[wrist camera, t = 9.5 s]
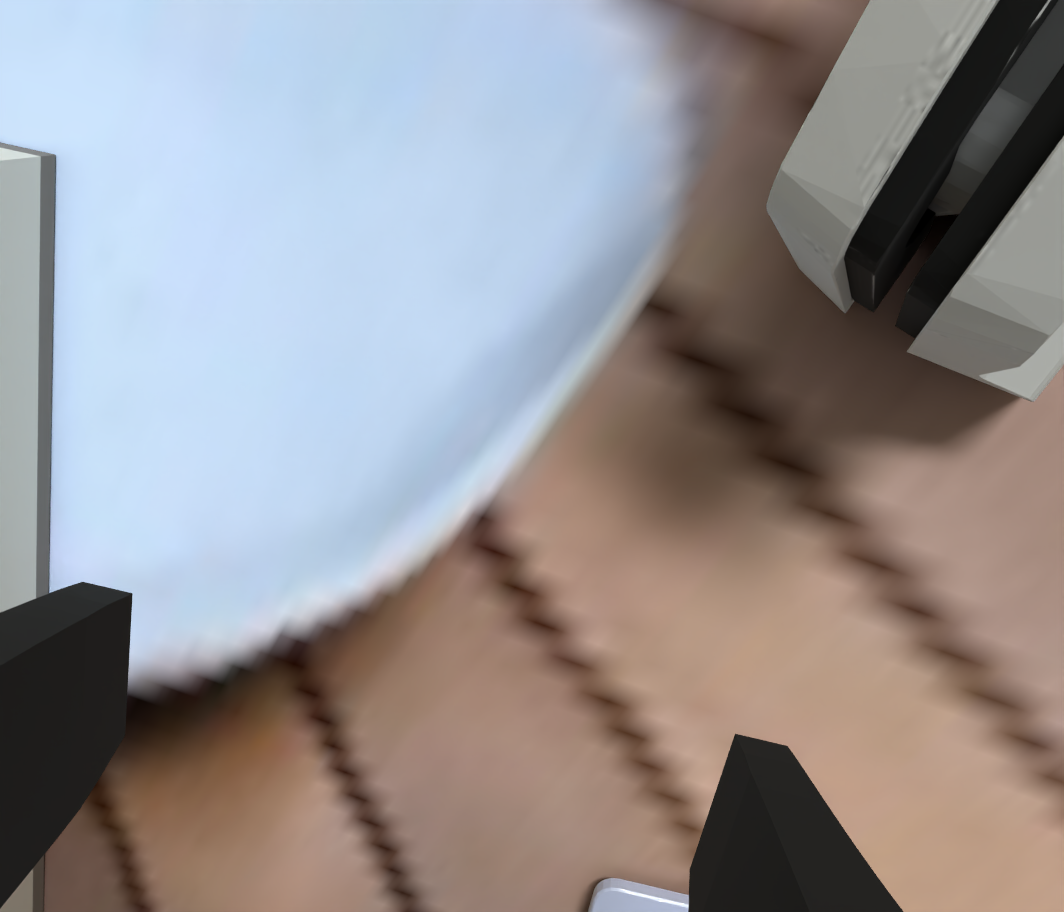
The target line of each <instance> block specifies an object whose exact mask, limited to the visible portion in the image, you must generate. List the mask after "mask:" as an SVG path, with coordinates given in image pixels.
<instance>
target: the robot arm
mask: <svg viewBox="0 0 1064 912" xmlns="http://www.w3.org/2000/svg"><path fill="white" fill-rule="evenodd" d="M131 610H132V593H128V592H124V591H120V590H115V589H111V588H107V587H102V586H98V585H94V584H90V583H85V582H81V583H78V584H75V585H72V586H68V587H65V588H63V589H60V590H57V591H54V592H52V593H49V594H46V595H44V596H41V597H38V598H36V599H33V600H31V601H28V602H26V603H23V604H21V605H18V606H16V607H13V608H11V609H8V610H6V611H3V612H1V613H0V909H1V907H2V906H3V905H4V904H5V902H6V901H7V900H8V899H9V897H10V896H11V895H12V894H13V892H14V891H15V890H16V889H17V888H18V886H19V885H20V884H21V883H22V881H23V880H24V879H25V878H26V876H27V875H28V874H29V873H30V871H31V870H32V869H33V868H34V867H35V865H36V864H37V863H38V861H39V860H40V859H41V858H42V856H43V855H44V854H45V853H46V851H47V850H48V849H49V848H50V846H51V845H52V844H53V843H54V841H55V840H56V839H57V838H58V836H59V835H60V834H61V833H62V831H63V830H64V829H65V828H66V826H67V825H68V824H69V822H70V821H71V820H72V819H73V817H74V816H75V815H76V813H77V812H78V811H79V810H80V808H81V806H82V805H83V803H84V802H85V800H86V799H87V797H88V795H89V794H90V792H91V791H92V789H93V787H94V786H95V784H96V783H97V781H98V780H99V778H100V776H101V775H102V773H103V771H104V770H105V768H106V766H107V765H108V763H109V761H110V760H111V758H112V756H113V754H114V753H115V751H116V749H117V748H118V746H119V744H120V743H121V741H122V739H123V738H124V736H125V724H126V705H127V686H128V667H129V648H130V629H131ZM588 912H903V911H902V909H901V908H900V907H899V905H898V904H897V903H896V901H895V900H894V899H893V897H892V896H891V895H890V893H889V892H888V891H887V889H886V888H885V887H884V885H883V884H882V883H881V881H880V880H879V878H878V877H877V876H876V874H875V873H874V872H873V870H872V869H871V867H870V866H869V865H868V863H867V862H866V860H865V859H864V858H863V856H862V855H861V853H860V852H859V850H858V849H857V848H856V846H855V845H854V843H853V842H852V840H851V839H850V838H849V836H848V835H847V833H846V832H845V830H844V829H843V827H842V826H841V824H840V823H839V821H838V820H837V818H836V817H835V816H834V814H833V813H832V811H831V810H830V808H829V807H828V805H827V804H826V802H825V801H824V799H823V798H822V796H821V795H820V793H819V792H818V790H817V789H816V787H815V786H814V784H813V783H812V781H811V780H810V778H809V777H808V775H807V774H806V772H805V771H804V769H803V768H802V766H801V765H800V763H799V762H798V760H797V759H796V757H795V756H794V755H793V753H792V752H791V750H790V749H789V748H788V746H785V745H781V744H776V743H772V742H768V741H763V740H759V739H755V738H751V737H746V736H742V735H738V734H735V736H734V739H733V742H732V745H731V748H730V751H729V754H728V757H727V760H726V763H725V766H724V769H723V772H722V775H721V778H720V781H719V784H718V787H717V790H716V793H715V796H714V799H713V802H712V805H711V808H710V811H709V814H708V817H707V820H706V823H705V826H704V829H703V832H702V835H701V838H700V841H699V844H698V847H697V850H696V853H695V856H694V858H693V861H692V864H691V867H690V880H689V895H686V894H682V893H677V892H673V891H669V890H665V889H661V888H656V887H652V886H648V885H644V884H640V883H635V882H631V881H627V880H623V879H618V878H609V879H605V880H602V881H601V882H599V883H598V884H597V886H596V887H595V889H594V892H593V896H592V899H591V903H590V906H589V909H588Z"/></svg>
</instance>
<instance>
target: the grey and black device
mask: <svg viewBox="0 0 1064 912" xmlns="http://www.w3.org/2000/svg"><path fill="white" fill-rule="evenodd" d="M766 207H767V212H768V214H769V216H770V217H771V219H772V221H773V223H774V225H775V226H776V228H777V230H778V232H779V234H780V235H781V237H782V239H783V241H784V243H785V244H786V246H787V248H788V250H789V251H790V253H791V255H792V257H793V259H794V260H795V262H796V264H797V266H798V268H799V269H800V270H801V271H802V272H803V273H804V274H805V275H806V276H807V277H808V278H809V279H810V280H811V281H812V282H813V283H814V284H815V285H816V286H817V287H818V288H819V289H820V290H821V291H822V292H823V293H824V294H825V295H826V296H827V297H828V298H829V299H830V300H831V301H833V302H834V303H835V304H836V305H837V306H838V307H839V308H840V309H841V310H842V311H843V312H844V313H846V312H847V311H848V309H849V308H850V307H851V305H852V304H853V303H854V301H856V302H857V303H859V304H861V305H862V306H864V307H866V308H867V309H869V310H870V311H872V312H874V311H875V309H876V308H877V307H878V305H879V304H880V302H881V301H882V299H883V298H884V297H885V295H886V294H887V292H888V291H889V289H890V288H891V287H892V285H893V284H894V282H895V281H896V279H897V278H898V277H899V275H900V274H901V272H902V271H903V269H904V268H905V267H906V265H907V264H908V262H909V261H910V259H911V258H912V257H913V255H914V254H915V252H916V251H917V249H918V248H919V247H920V245H921V244H922V242H923V241H924V239H925V238H926V237H927V235H928V234H929V232H930V229H931V226H932V223H933V220H934V217H935V216H941V215H952V214H959V215H958V217H957V218H956V219H955V221H954V222H953V224H952V225H951V227H950V228H949V230H948V231H947V232H946V234H945V235H944V237H943V238H942V240H941V241H940V243H939V244H938V245H937V247H936V248H935V250H934V251H933V253H932V254H931V256H930V257H929V258H928V260H927V261H926V263H925V264H924V266H923V267H922V269H921V270H920V272H919V273H918V274H917V276H916V277H915V279H914V281H913V283H912V284H911V286H910V288H909V290H908V291H907V293H906V296H905V299H904V302H903V305H902V308H901V311H900V314H899V317H898V320H897V322H896V325H895V326H896V327H898V328H899V329H901V330H903V331H904V332H906V333H907V334H909V335H911V336H912V337H914V338H915V340H914V341H913V343H912V344H911V346H910V347H909V349H908V350H907V352H908V353H911V354H913V355H916V356H918V357H921V358H923V359H926V360H928V361H931V362H933V363H936V364H938V365H941V366H943V367H946V368H948V369H951V370H953V371H956V372H958V373H961V374H963V375H966V376H968V377H971V378H973V379H976V380H978V381H981V382H983V383H986V384H988V385H991V386H993V387H996V388H998V389H1001V390H1003V391H1006V392H1008V393H1011V394H1013V395H1016V396H1018V397H1021V398H1023V399H1026V400H1028V401H1031V402H1034V401H1035V400H1036V399H1037V397H1038V396H1039V395H1040V394H1041V392H1042V391H1043V390H1044V389H1045V387H1046V386H1047V385H1048V384H1049V382H1050V381H1051V380H1052V379H1053V377H1054V376H1055V375H1056V374H1057V372H1058V371H1059V370H1060V369H1061V367H1062V366H1063V365H1064V0H870V2H869V3H868V5H867V7H866V9H865V11H864V13H863V14H862V16H861V18H860V20H859V22H858V24H857V25H856V27H855V29H854V31H853V33H852V35H851V37H850V38H849V40H848V42H847V44H846V46H845V48H844V49H843V51H842V53H841V55H840V57H839V59H838V61H837V62H836V64H835V66H834V68H833V70H832V72H831V73H830V75H829V77H828V79H827V81H826V83H825V85H824V86H823V88H822V90H821V92H820V94H819V96H818V97H817V99H816V101H815V103H814V105H813V107H812V109H811V110H810V112H809V114H808V116H807V118H806V120H805V122H804V123H803V125H802V127H801V129H800V131H799V133H798V134H797V136H796V138H795V140H794V142H793V144H792V146H791V147H790V149H789V151H788V153H787V155H786V157H785V159H784V160H783V162H782V164H781V166H780V169H779V171H778V174H777V176H776V178H775V181H774V183H773V185H772V188H771V191H770V194H769V198H768V201H767V205H766Z"/></svg>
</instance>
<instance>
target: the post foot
mask: <svg viewBox="0 0 1064 912" xmlns="http://www.w3.org/2000/svg"><path fill="white" fill-rule="evenodd" d="M54 217H55V155H54V154H49V153H45V152H40V151H36V150H31V149H27V148H22V147H18V146H13V145H8V144H4V143H0V613H1V612H3V611H6V610H8V609H11V608H13V607H16V606H18V605H21V604H23V603H26V602H28V601H31V600H33V599H36V598H38V597H41V596H44V595H46V594H48V590H49V527H50V465H51V403H52V341H53V279H54ZM43 900H44V855H43V856H42V858H41V859H40V860H39V861H38V863H37V864H36V865H35V867H34V868H33V869H32V870H31V871H30V873H29V874H28V875H27V876H26V878H25V879H24V880H23V881H22V883H21V884H20V885H19V886H18V888H17V889H16V890H15V891H14V892H13V894H12V895H11V896H10V897H9V899H8V900H7V901H6V902H5V904H4V905H3V906H2V907H1V909H0V912H43Z"/></svg>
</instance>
